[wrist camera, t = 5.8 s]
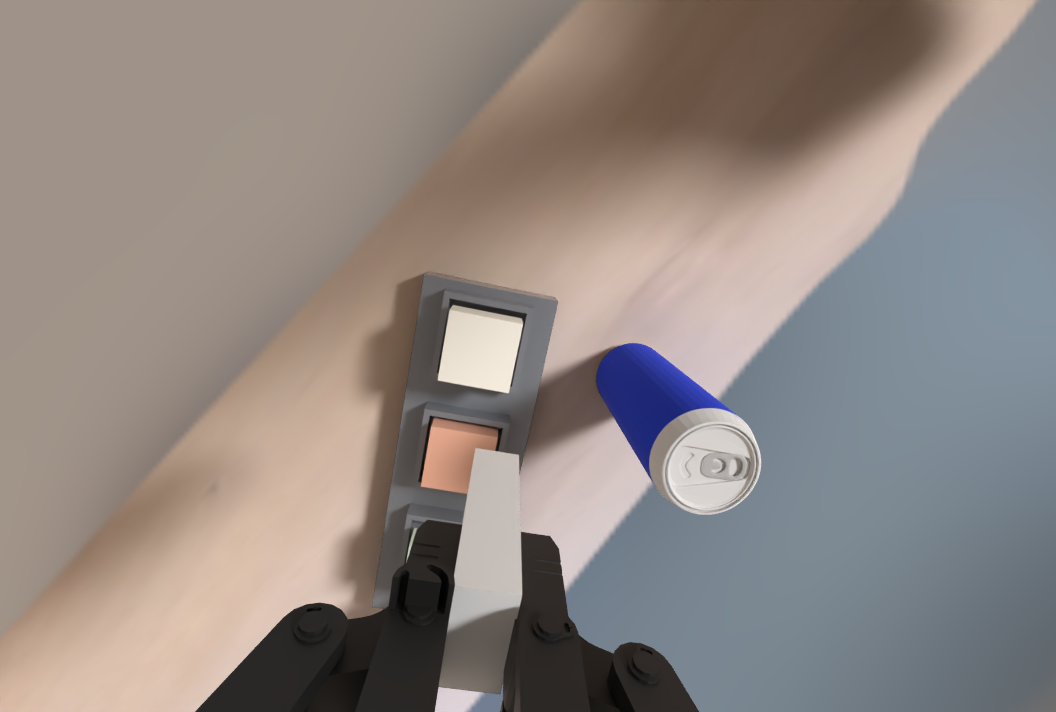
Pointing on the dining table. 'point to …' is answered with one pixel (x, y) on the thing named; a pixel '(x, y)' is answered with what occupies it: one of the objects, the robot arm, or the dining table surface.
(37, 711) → the dining table surface
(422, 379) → the console
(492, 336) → the cream button
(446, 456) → the terracotta button
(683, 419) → the beverage can
